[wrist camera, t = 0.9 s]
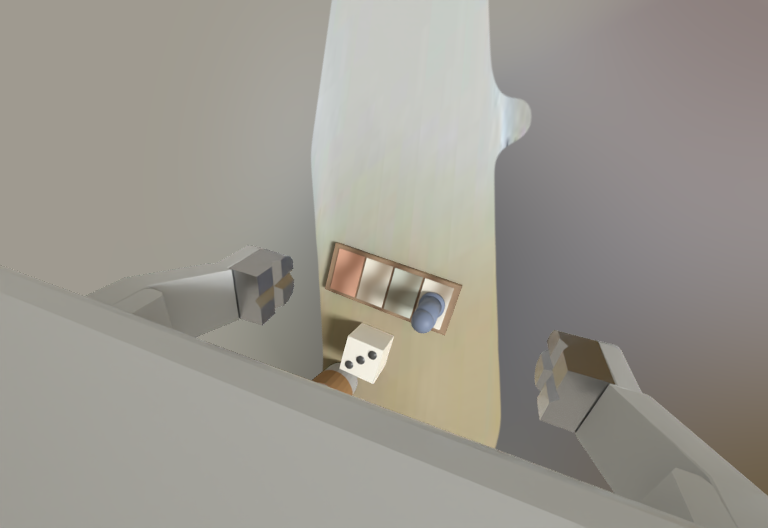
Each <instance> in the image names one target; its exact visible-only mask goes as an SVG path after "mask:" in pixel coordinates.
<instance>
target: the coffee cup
mask: <svg viewBox="0 0 768 528" xmlns="http://www.w3.org/2000/svg"><path fill="white" fill-rule="evenodd" d="M340 364H341V363H335V364H332V365H331V366H329V367H328V368H327V369H326V370H324V371H323V372H321V373H320V374H319V375H318V376H316V377H315V378H314V379H313V380H312V381H314V382H317V383H319V384H322V385H325V386H328V387H330V388H333V389H336V390H338V391H341V392H344V393H346V394H349V395H353V393H354V392H355V390H356V387H357V376H355V375H352V374H350V373H348V372H346V371H344V370H341V369H339V368H340Z"/></svg>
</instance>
